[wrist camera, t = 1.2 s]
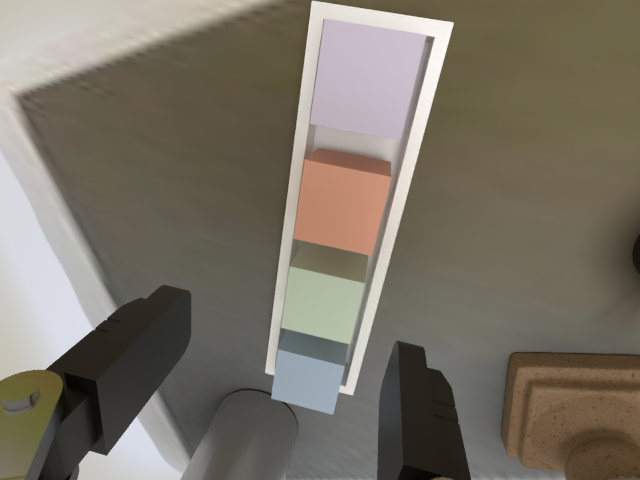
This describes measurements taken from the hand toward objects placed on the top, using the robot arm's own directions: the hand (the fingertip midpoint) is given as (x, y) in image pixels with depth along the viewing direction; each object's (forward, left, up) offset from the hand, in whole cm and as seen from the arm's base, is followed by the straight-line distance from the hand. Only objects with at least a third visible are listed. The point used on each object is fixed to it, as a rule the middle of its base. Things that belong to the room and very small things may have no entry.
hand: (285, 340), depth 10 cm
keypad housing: (-3, +1, -20) cm, 20 cm away
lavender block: (+7, -2, -17) cm, 18 cm away
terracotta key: (0, 0, -17) cm, 17 cm away
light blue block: (-13, +4, -17) cm, 22 cm away
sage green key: (-7, +2, -17) cm, 18 cm away
